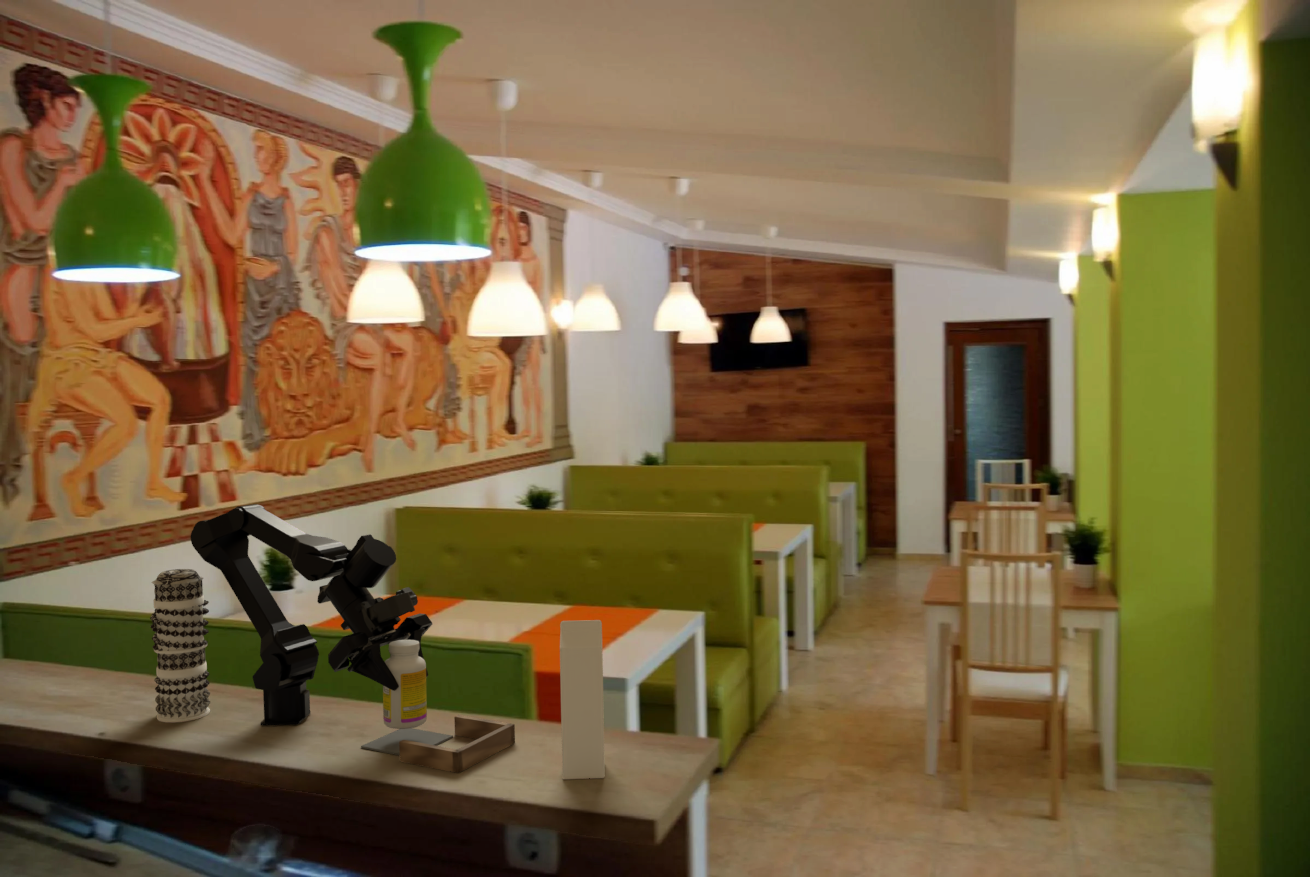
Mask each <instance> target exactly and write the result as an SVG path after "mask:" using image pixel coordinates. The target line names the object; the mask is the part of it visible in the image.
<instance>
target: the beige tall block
mask: <svg viewBox="0 0 1310 877" xmlns="http://www.w3.org/2000/svg"><path fill="white" fill-rule="evenodd" d="M559 627H560V632H559V633H560V635H559V667H560V668H559V674H560V676H559V677H560V720H561V723H560V724H561V728H560V729H561V764H562V765H561V767H562V768H561V770H562V772H561V775H562V780H585V779H586V780H587V779H589V778H590V779H605V766H606V765H605V723H604V722H605V718H604V712H605V711H604V710H605V709H604V669H603V668H604V665H603V661H604V660H603V623H602V620H600V619H594V620H593V619H590V620H588V619H587V620H562V621H561V622H560V624H559Z"/></svg>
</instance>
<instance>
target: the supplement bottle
mask: <svg viewBox="0 0 1310 877" xmlns="http://www.w3.org/2000/svg"><path fill="white" fill-rule="evenodd" d="M419 649H420V648H419V641H416V640H397V641H393V642H390V643H389V644H388V652H389V654H390V655H389V658H387V659H385V660H384V662H385V663H386V665H387V667H388V668H389V670H390V671H391V673H392V674H393V676H394V678H395V679H396V681H397V683H398V685H399V687H398V688H397V690H395V691H393V690H391V689H389V688H387V687H385V686H383V685H382V712H383V715H382V718H383V724H384V725H385V726H386V727H387V728H389V729H395V730H399V729H409V728H413V729H416V728H418V727H420V726H423V725H424V724H425V723H426V721H427V718H428V717H427V716H428V714H427V677H426V668H427V663H426V660H425V658H424V659H423V658H421V657H419V656H418V652H419Z"/></svg>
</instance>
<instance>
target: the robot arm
mask: <svg viewBox="0 0 1310 877" xmlns="http://www.w3.org/2000/svg"><path fill="white" fill-rule="evenodd" d="M250 536H252V537H253V538H255V539H257V540H259V541H260V542H262V543H264V544H266V545H267V546H268V547H270V548H272V549H273V550H276V551H277V552H279V553H280V554H282V555H284V556H285V557H287V558H288V559H289V560H290V562H291V565H292V567H293V569H294V570H295V571H296V572H297V573H299V574H300V576H302V577H303V578H305V580H307V581H310V582H316V581H321V580H326V579H329V578H331V579H330V580H329V582H328V583H327V584H325V585H321V586H319V593H318V595H317V603H318V604H319V605H320V604H324V603H328V602H331V605H333V607H334V608H335V610H336V612H338V614H339V615H340V617H341V618H342V620H343V622H342V623H340V627H341V628H342V630H343V631H346V630H350V631H351V634H347V635H345V636H342V637H341V638H340V640H338V642H337V643H336V645H335V646H334V647H333V648H332V650H330V652H329V653H328V656H327V658H328V660H327V661H328V663H327V664H328V665H329V666H330V667H331V669H332V671H333V672H334V673H337V672H339V671H342V670H343V671H344V670H345V669H346V670H347V671H348V672H349V673H351V672H354V673H356V674H359V675H361V676H364V677H365V678H367V679H370V680H372V681H374V682H376V683H378V684H380V685H382V687H383V686H385V687H387V688H389V689H391V690H393V691H395V690H397V688H398V687H399V685H398V683H397V681H396V679H395V678H394V676H393V674H392V673H391V671H390V670H389V668H388V667H387V665H386V663H385V660H384V658H383V657H382V654H381V647H383V646H387V645H389V643H390V642H393V641H397V640H416V641H419V648H420V649H419V652H418V656H419V657H421V658H423V659H424V660H425V657H424V653H423V651H422V650H423V649H422V644H421V643H422V642H421V641H422V637H423V636H424V635H425V634H426V632H427V631H428V630H429V629H430V628H431V627H432V625H433V622H432V620H431V619H430V617H429V616H428V614H426V613H417V614H413V615H410V616H407V617H405V618H404V620H403V621H401V618H400V617H402V616H403V615H406V614H407V613H413V612H415V611H416V608H415V606H417V605H418V602H419V600H418V596H417V595H416V593H415V592H414V591H413V590H412V588H410V587H409V586H408V587H407V586H406V587H404V588H401V590H400V589H399V590H397V591H396V592H395V594H394V595H392V596H388V597H386V598H383V597H380V596H379V597H374V596H373V595H372V593H371V592H370V591H369V590H368V589H373V588H374V587H376V586H377V585H378V584H379V583H380V581H381V580H382V579H383V578H384V576H386V574H387V573H388V572H389V571H390V569H392V567H393V565H395V563H396V560H397V555H396V552H395V551H394V548H392V546H390V545H388V544H386V543H385V542H384V541H383V540H380V539H377V538H374V537H373V535H372V534H370V533H369V534H363V535H361V536H360V537H359V538H358V539H357V541H356V544H355V545H354V546H353V548H352V549H349V548H348V547H347V546H346V544H344V543H343V542H341V541H339V540H336V539H333V538H330V537H325V536H317V535H312V534H309V533H307V532H305V531H303V530H301V529H299V528H297V527H296V526H294V525H292V524H291V523H289V522H287V521H286V520H284V519H282V518H280V517H278V516H277V515H275V514H273V513H272V512H269V511H268V510H266V508H265V507H264V506H263V505H260V504H257V503H253V504H246V505H240V506H236V507H234V508H232V509H231V510H229V511H227V512H225V513H223V514H220V515H217V516H215V517H212V518H210V519H203V520H200V521H197V522H196V523H195V524H194V526H193V529H192V530H191V533H190V542H191V545H192V547H193V548H194V550H195V551H196V552H197V553H198V555H199V556H200V558H201V559H202V560H203V561H204V562H206V563H207V564H209V565H211V566H213V567H215V568H216V569H218V570H220V572H221V573H222V575H223V576H224V578H225V580H226V581H227V583H228V585H229V586H230V588H231V590H232V592H233V594H234V595H235V597H236V599H237V600H238V602H239V604H240V605H241V607H242V608H243V610H244V612H245V614H246V615H247V617H248V618H249V620H250V623H251V624H252V625H253V627H254V629H255V631H256V632H257V634H258V636H259V637H260V648H259V649H260V650H259V651H260V652H259V657H260V659H261V661H262V664H261V665H260V666H259V667H258V669H257V670H256V671H255V673H253V675H252V681H253V685H254V688H255V689H256V690H260V691H261V690H262V692H263V693H262V695H263V696H262V698H263V717H264V718H263V719H262V720H261V721H260V722H259V724H260V726H298V725H300V724H301V723H302V722H303V721H304V720H305V719H306V718H308V716H309V715H311V712H312V711H311V701H310V700H311V699H310V698H311V697H310V695H311V694H310V690H309V689H307V681H308V680H310V681H311V680H314V677H315V676H314V675H315V673H316V669H317V664H318V662H319V656H320V652H319V649H318V646H317V645H316V644H318V641H317V640H316V639H315V638H314V637H313V636H312V634H311V632H310V630H309V627H308V626H307V625H306V624H305V623H301V624H298V625H294V624H293V623H290V622H289V621H288V619H287V618H286V616H285V614H284V612H283V611H282V609H281V608H280V606H279V605H278V603H277V601H276V599H275V598H274V596H273V595H272V593H271V591H270V590H269V588H268V586H267V585H266V583H265V581H264V580H263V578H262V576H261V574H260V573H259V571H258V569H257V568H256V567H255V565H254V563H253V561H252V560H251V559H250V557H249V544H250V539H249V537H250ZM400 621H401V623H400ZM399 623H400V624H399ZM398 624H399V626H398V627H397V628H395V626H396V625H398ZM350 663H351V664H350ZM428 676H429V672H428V668H427V667H426V678H428Z"/></svg>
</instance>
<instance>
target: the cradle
mask: <svg viewBox="0 0 1310 877" xmlns="http://www.w3.org/2000/svg"><path fill="white" fill-rule="evenodd" d="M454 736H459V737H464V738H470V739H475V740H473V741H470V742H469V743H467V744H465V745H463V746H461V747H459V748H457V749H455V748H450V747H446V746H445V747H444V746H441V745H440V746H439V745H436V746H435V745H430V744H424V743H419V742H414V741H408V740H402V741H400V742H399V752H400V755H399V762H400V763H406V764H410V765H414V766H415V765H416V766H421V767H425V768H430V769H436V770H441V771H446V772H450V771H451V772H450V773H454V774H455V773H456V774H460V773H462V772H463V771H465V770H467V769H469V768H471V767H473V766H475V765H476V764H479V763H480V762H482V761H484V760H486V759H488V758H489V757H491V756H494V755H495V754H498V753H499V752H501V751H503V750H505V749H506V748H509V747H510V746H513V745H514V744H516V728H515V723H509V722H502V721H498V720H492V719H486V718H479V717H474V716H468V715H461V714H457V715H455V716H454Z"/></svg>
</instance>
